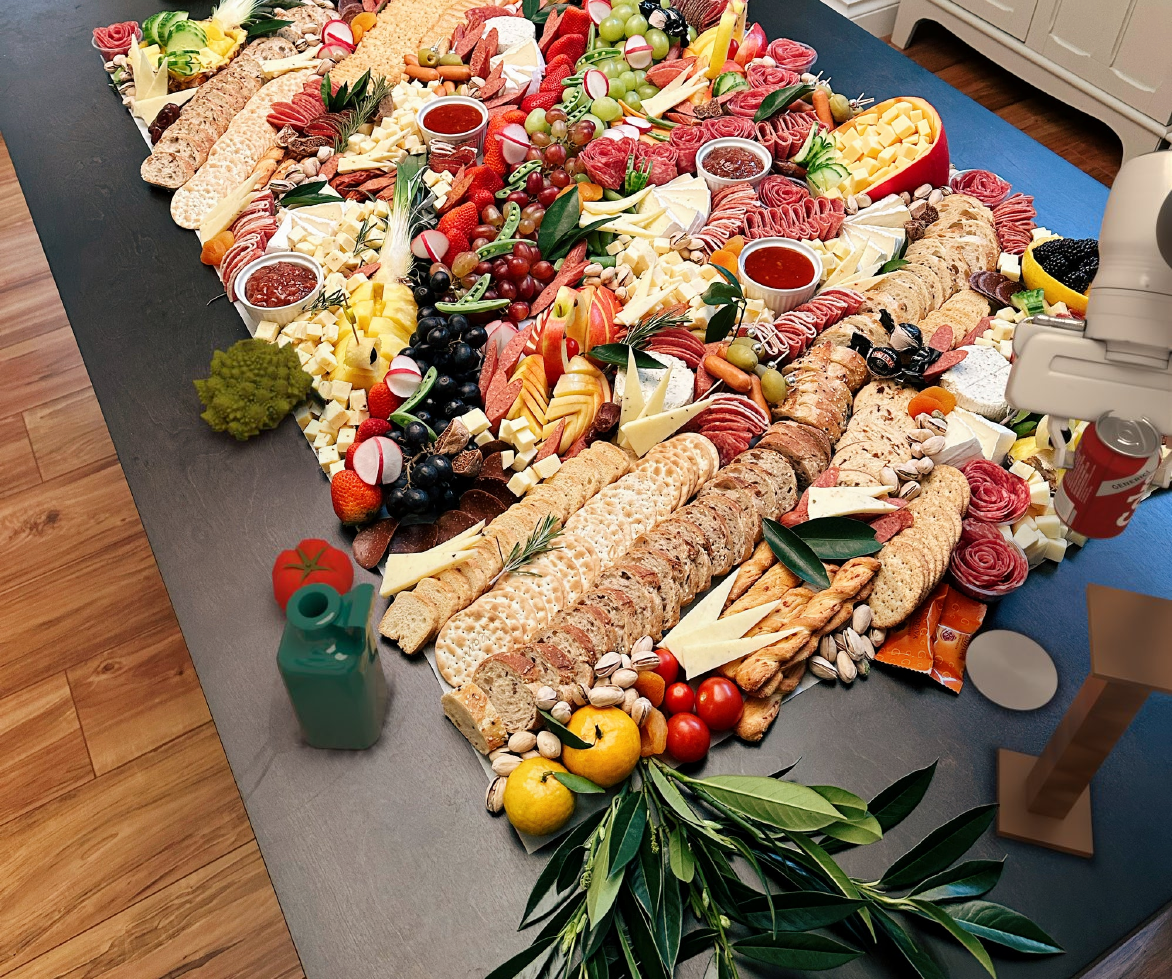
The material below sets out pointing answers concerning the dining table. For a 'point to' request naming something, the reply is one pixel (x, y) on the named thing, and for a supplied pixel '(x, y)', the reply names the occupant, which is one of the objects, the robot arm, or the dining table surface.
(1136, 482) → the soda can
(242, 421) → the vegetable
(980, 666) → the steel plate
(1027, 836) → the walnut stand
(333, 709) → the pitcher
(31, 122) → the dining table surface
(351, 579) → the tomato
